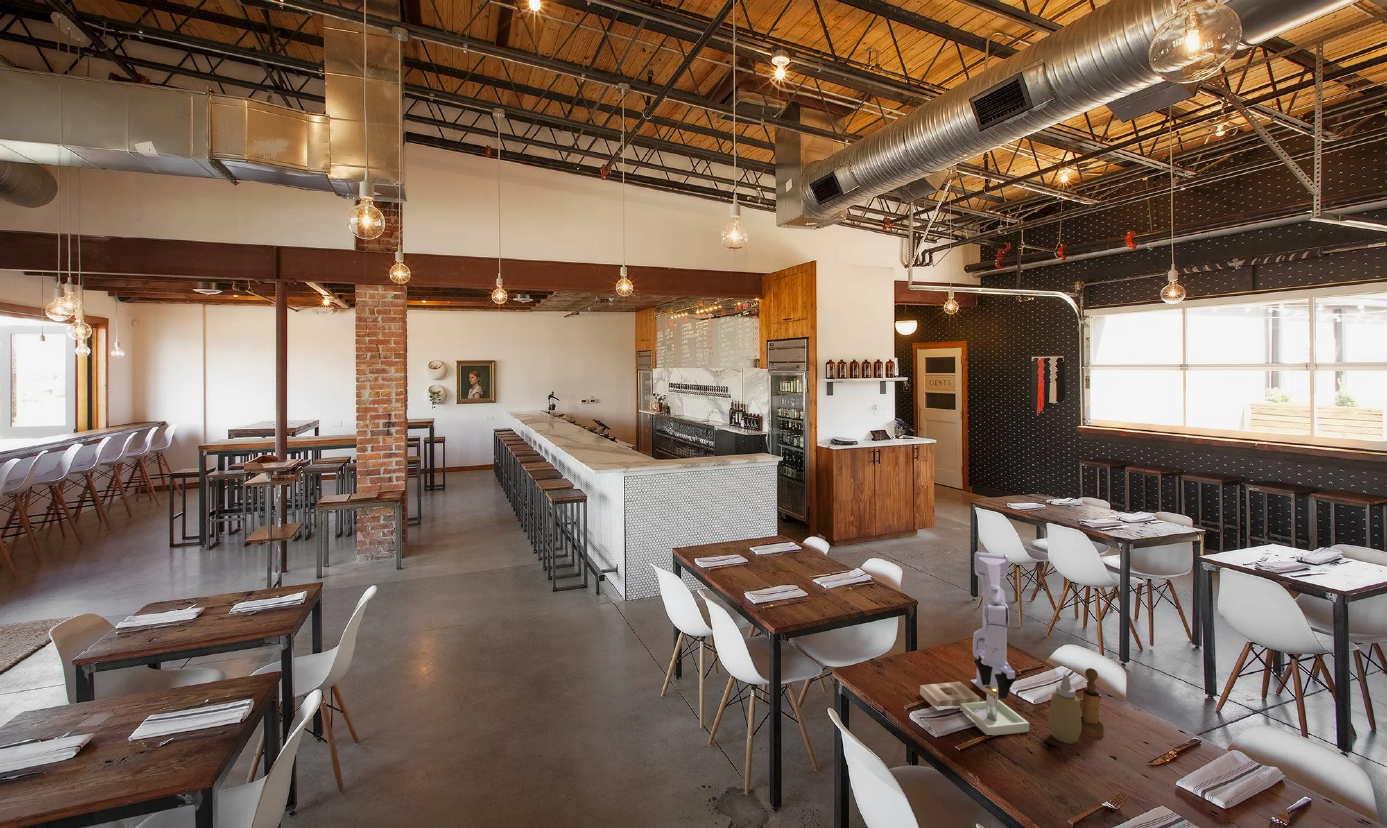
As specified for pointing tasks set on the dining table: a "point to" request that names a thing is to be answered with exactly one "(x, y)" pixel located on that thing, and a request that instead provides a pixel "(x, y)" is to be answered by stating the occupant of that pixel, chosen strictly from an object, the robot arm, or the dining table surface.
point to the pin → (992, 703)
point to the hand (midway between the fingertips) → (994, 691)
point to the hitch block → (948, 694)
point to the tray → (1004, 724)
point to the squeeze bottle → (1065, 713)
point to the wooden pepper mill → (1091, 707)
